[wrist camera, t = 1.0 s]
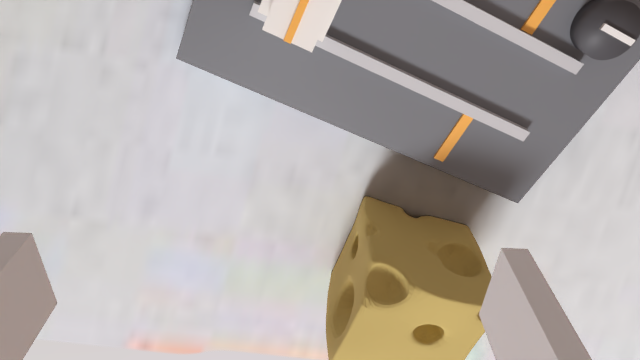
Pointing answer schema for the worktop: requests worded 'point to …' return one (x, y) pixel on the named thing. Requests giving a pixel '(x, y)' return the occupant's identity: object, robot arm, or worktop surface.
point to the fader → (299, 20)
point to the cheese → (405, 288)
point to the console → (437, 75)
